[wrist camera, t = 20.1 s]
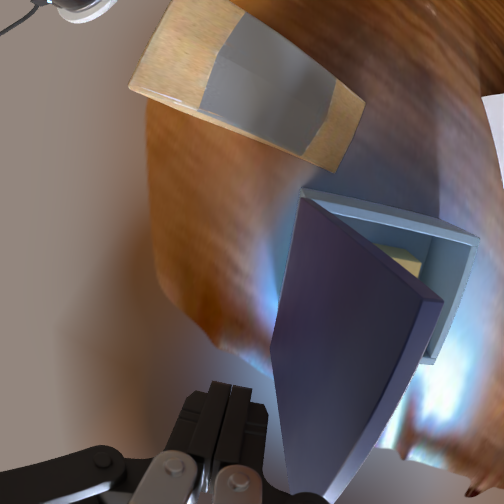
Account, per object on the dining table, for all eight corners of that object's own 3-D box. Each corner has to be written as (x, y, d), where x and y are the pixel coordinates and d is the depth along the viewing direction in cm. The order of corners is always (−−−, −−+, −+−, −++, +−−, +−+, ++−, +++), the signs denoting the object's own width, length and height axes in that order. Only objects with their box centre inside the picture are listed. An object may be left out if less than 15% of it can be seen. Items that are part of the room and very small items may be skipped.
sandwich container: (334, 177, 30) (374, 191, 16) (194, 117, 30) (123, 90, 16) (368, 102, 28) (427, 62, 14) (227, 44, 28) (184, -28, 13)
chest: (439, 218, 30) (480, 238, 22) (407, 322, 34) (433, 365, 25) (300, 187, 31) (305, 197, 23) (278, 302, 35) (274, 346, 26)
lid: (446, 300, 7) (422, 298, 7) (311, 531, 10) (294, 532, 10) (311, 198, 22) (300, 196, 22) (278, 349, 26) (269, 348, 26)
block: (355, 283, 32) (364, 302, 28) (366, 241, 31) (378, 254, 27) (394, 289, 32) (408, 308, 28) (406, 249, 31) (422, 262, 26)
